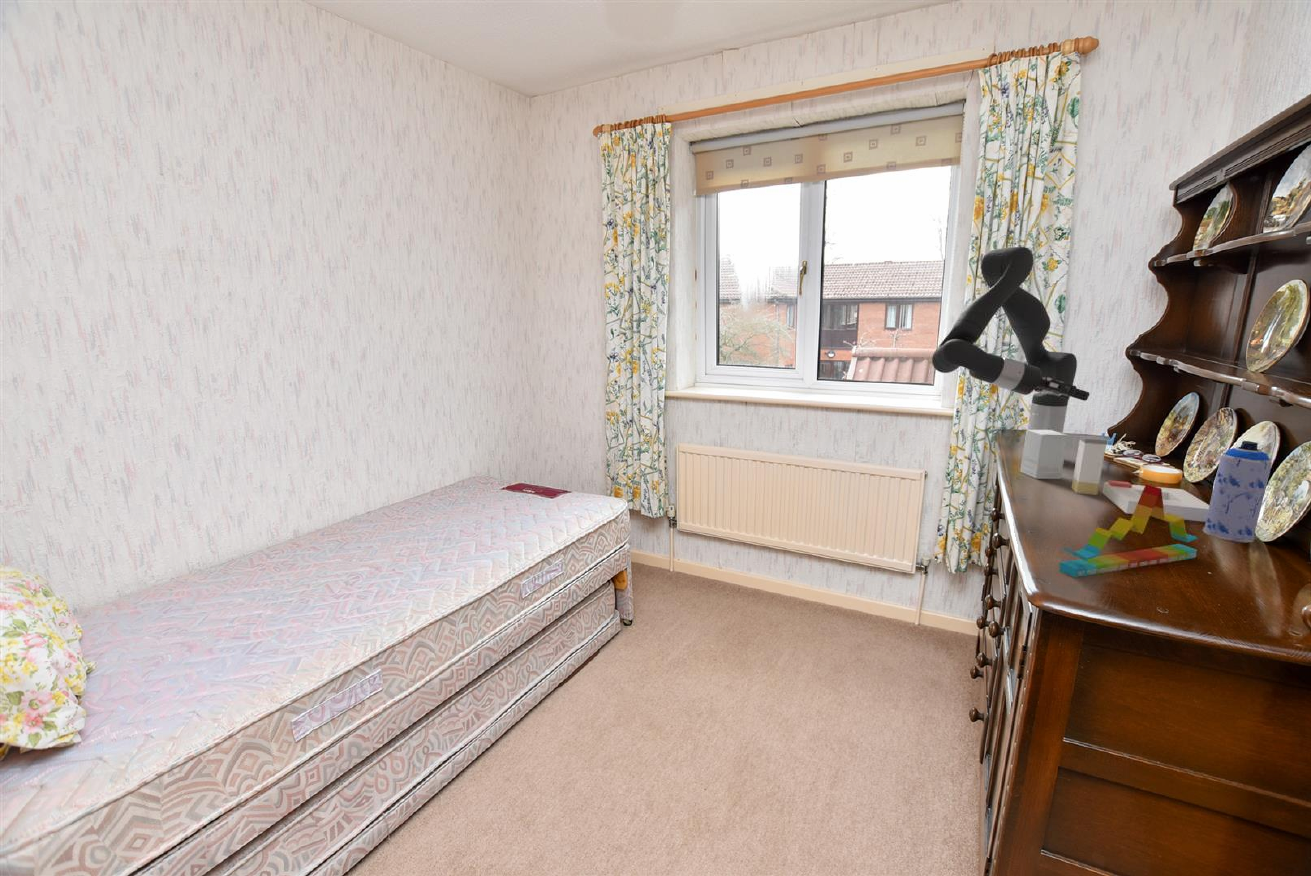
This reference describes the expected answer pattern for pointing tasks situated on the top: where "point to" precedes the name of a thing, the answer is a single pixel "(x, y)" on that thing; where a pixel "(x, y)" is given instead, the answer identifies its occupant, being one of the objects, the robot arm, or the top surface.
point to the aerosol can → (1238, 493)
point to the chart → (1145, 508)
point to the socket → (1173, 499)
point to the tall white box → (1089, 464)
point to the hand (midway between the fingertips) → (1078, 395)
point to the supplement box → (1044, 454)
